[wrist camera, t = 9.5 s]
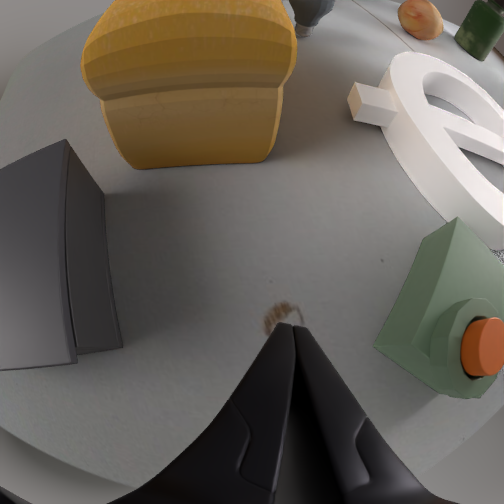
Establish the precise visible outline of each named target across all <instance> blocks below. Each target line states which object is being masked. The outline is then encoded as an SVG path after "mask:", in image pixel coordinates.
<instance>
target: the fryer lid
mask: <svg viewBox="0 0 504 504" xmlns="http://www.w3.org/2000/svg"><path fill="white" fill-rule="evenodd" d="M69 151H70V144H69V143H68V141H67V139H64V140H61V141H59V142H56V143H54V144H52V145H49V146H47V147H45V148H42V149H40V150H38V151H36V152H34V153H31V154H29V155H27V156H25V157H23V158H21V159H19V160H17V161H15V162H13V163H11V164H9V165H7V166H6V167H4V168H2V169H0V371H6V370H20V369H32V368H42V367H52V366H60V365H68V364H76V363H78V360H77V355H76V350H75V344H74V338H73V332H72V326H71V319H70V312H69V303H68V294H67V282H66V268H65V239H64V223H65V195H66V180H67V169H68V160H69Z"/></svg>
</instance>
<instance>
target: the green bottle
mask: <svg viewBox="0 0 504 504" xmlns="http://www.w3.org/2000/svg"><path fill="white" fill-rule="evenodd" d="M502 13H504V0H488V2H487V3H486V2H484V1H482V0H477V1H475V2H474V4H473V6H472V8H471V9H470V11H469V13H468V14H467V16H466V18H465V20H464V21H463V23H462V25H461V26H460V28H459V30H458V31H457V33H456V35H455V36H454V38H455V40H456V41H457V43H458V44H459V45H460V46H461V47H462V48H463V49H464V50H466V51H467V52H468V53H469V54H471V55H472V56H473V57H475V58H476V59H478V60H480V61H484V59H485V58H486V57H487V55H488V54H489V52H490V51H491V50H492V48H493V47H494V45H495V44H496V42H497V41H498V39H499V38H500V36H501V35H502V33H503V32H504V17H503V16H502Z"/></svg>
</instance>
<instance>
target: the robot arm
mask: <svg viewBox="0 0 504 504" xmlns="http://www.w3.org/2000/svg"><path fill="white" fill-rule="evenodd" d="M366 416H367V415H366V413H365V412H364V410H363V409H362V408H361V406H360V405H359V403H358V402H357V400H356V399H355V397H354V396H353V394H352V393H351V391H350V390H349V388H348V387H347V385H346V384H345V383H344V381H343V380H342V378H341V377H340V375H339V374H338V372H337V371H336V369H335V368H334V366H333V365H332V363H331V362H330V361H329V359H328V358H327V356H326V355H325V353H324V352H323V350H322V349H321V347H320V346H319V344H318V343H317V341H316V340H315V339H314V337H313V336H312V334H311V333H310V331H309V330H308V329H307V328H306V327H301V326H296V325H294V326H292V325H291V324H287V323H282V322H279V323H277V325H276V327H275V328H274V330H273V331H272V333H271V335H270V336H269V338H268V339H267V341H266V343H265V344H264V346H263V347H262V349H261V351H260V352H259V354H258V355H257V357H256V358H255V360H254V361H253V363H252V365H251V366H250V368H249V369H248V371H247V372H246V374H245V375H244V377H243V378H242V380H241V381H240V383H239V384H238V386H237V387H236V389H235V390H234V392H233V393H232V395H231V396H230V398H229V400H227V402H226V403H225V405H224V406H223V407H222V409H221V410H220V412H219V413H218V414H217V416H216V417H215V418H214V419H213V421H212V422H211V423H210V425H209V426H208V427H207V428H206V429H205V430H204V431H203V432H202V433H201V434H200V435H199V436H198V437H197V438H196V440H195V441H193V442H192V443H191V444H190V445H189V446H188V447H187V448H186V449H185V450H184V451H183V452H182V453H181V454H180V455H179V456H178V457H176V458H175V459H174V460H173V461H172V462H171V463H170V464H169V465H168V466H167V467H165V468H164V469H163V470H162V471H161V472H160V473H159V474H157V475H156V476H155V477H154V478H152V479H151V480H150V481H148V482H147V483H145V484H144V485H143V486H141V487H139V488H138V489H136V490H134V491H132V492H130V493H128V494H126V495H124V496H122V497H120V498H118V499H116V500H114V501H112V502H110V503H107V504H458V503H455V502H451V501H448V500H444V499H442V498H439V497H437V496H435V495H434V494H432V493H431V492H429V491H428V490H427V489H426V488H425V487H424V486H423V485H422V484H421V483H420V482H419V481H418V480H417V478H416V477H415V476H414V475H413V474H412V473H411V472H410V470H409V469H408V468H407V467H406V466H405V465H404V463H403V462H402V461H401V460H400V459H399V458H398V457H397V455H396V454H395V453H394V452H393V450H392V449H391V448H390V447H389V445H388V444H387V443H386V442H385V440H384V439H383V438H382V436H381V435H380V433H379V432H378V431H377V429H376V428H375V426H374V425H373V424H372V422H371V421H370V419H369V418H368V417H366ZM0 504H31V503H30V502H27V501H26V500H24V499H22V498H20V497H18V496H16V495H15V494H13V493H11V492H10V491H8V490H6V489H4V488H3V487H0Z"/></svg>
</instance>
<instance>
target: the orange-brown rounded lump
mask: <svg viewBox="0 0 504 504" xmlns="http://www.w3.org/2000/svg"><path fill="white" fill-rule="evenodd" d="M398 17H399V21H400V23H401V26H402V27H403V29H404V30H406V31H407V32H408V33H410V34H411V35H413V36H414V37H416V38H417V39H420V40H431V39H434V38H436V37H438V36H439V35H440V34H441V33H442V32H443V21H442V18H441V15H440V13H439V11H438V10H437V9H436V7H435V6H434V5H433V4H432V3H430V2H429V1H427V0H407V1H405V2H404V3H402V4H401V5H400V7H399V8H398Z"/></svg>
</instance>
